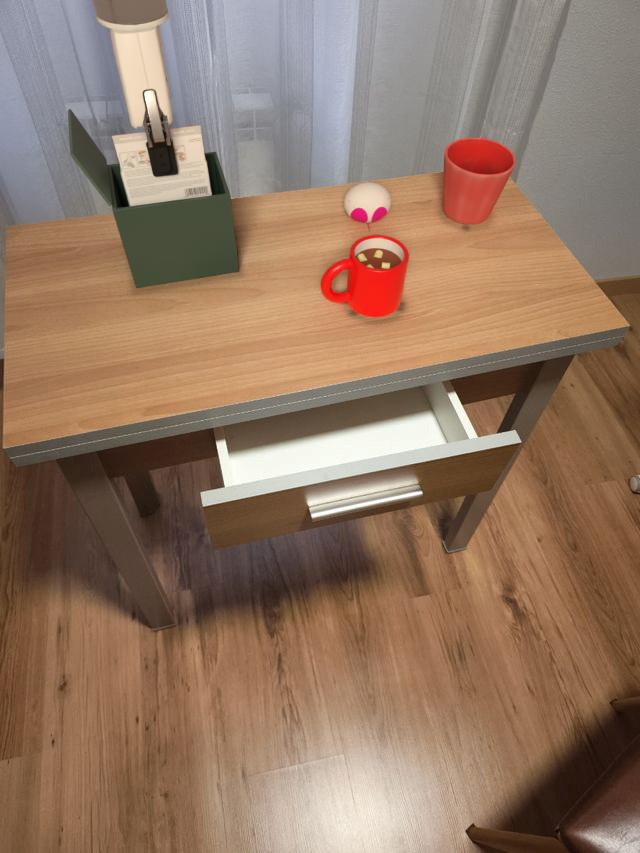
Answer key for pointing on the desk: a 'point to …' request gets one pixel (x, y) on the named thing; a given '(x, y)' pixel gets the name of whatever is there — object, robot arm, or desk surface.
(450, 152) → the flower pot
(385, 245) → the mug
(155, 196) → the ink cartridge box
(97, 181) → the green flat rectangular panel
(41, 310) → the desk surface
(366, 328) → the desk surface
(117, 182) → the green hollow box
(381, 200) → the toy mouse
